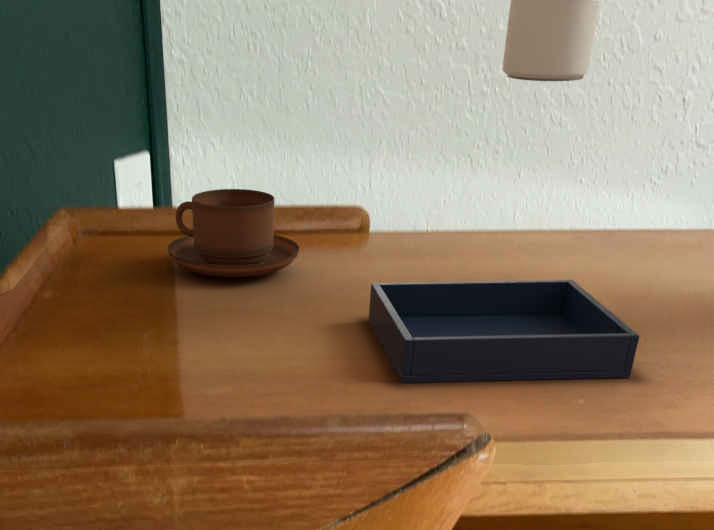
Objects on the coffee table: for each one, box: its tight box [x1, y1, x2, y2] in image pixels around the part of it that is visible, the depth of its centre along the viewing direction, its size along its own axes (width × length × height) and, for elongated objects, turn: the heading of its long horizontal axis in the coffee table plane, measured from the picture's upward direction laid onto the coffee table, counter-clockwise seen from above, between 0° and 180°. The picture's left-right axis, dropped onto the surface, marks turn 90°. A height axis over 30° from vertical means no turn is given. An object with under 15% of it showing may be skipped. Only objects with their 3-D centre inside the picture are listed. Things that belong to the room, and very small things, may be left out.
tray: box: [368, 279, 640, 384], centre depth 71 cm, size 16×13×3 cm
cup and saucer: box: [167, 188, 300, 278], centre depth 87 cm, size 12×12×6 cm
